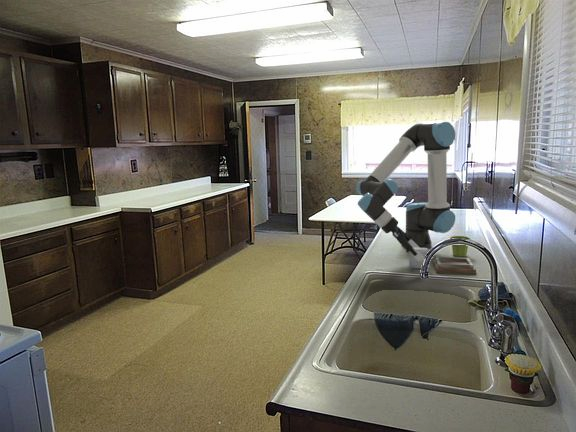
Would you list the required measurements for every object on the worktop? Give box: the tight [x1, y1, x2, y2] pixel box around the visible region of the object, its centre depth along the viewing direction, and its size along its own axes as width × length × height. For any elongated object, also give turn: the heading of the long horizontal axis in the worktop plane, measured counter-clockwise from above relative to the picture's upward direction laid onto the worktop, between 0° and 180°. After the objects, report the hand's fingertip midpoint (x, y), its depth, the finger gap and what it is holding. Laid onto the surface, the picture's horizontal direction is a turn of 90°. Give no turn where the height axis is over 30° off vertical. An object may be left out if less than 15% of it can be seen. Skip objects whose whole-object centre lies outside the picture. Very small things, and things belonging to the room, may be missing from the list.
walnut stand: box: [432, 256, 477, 275], centre depth 188 cm, size 14×16×4 cm
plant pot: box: [449, 235, 472, 258], centre depth 206 cm, size 9×9×9 cm
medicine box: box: [408, 247, 429, 269], centre depth 191 cm, size 8×4×9 cm, turn 74°
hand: (420, 255), depth 190 cm, fingers open, 13 cm apart
